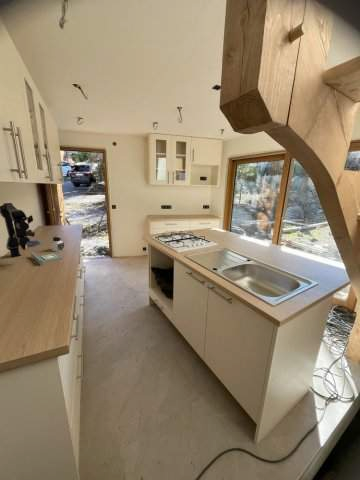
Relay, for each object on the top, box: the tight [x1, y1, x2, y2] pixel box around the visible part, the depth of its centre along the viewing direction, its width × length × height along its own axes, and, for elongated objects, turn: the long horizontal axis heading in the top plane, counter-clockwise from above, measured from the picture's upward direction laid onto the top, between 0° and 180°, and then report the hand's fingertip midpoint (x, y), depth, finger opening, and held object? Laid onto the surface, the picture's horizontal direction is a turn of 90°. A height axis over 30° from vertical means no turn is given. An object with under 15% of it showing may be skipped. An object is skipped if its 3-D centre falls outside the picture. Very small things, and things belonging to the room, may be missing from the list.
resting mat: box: [37, 252, 63, 264], centre depth 166 cm, size 16×14×1 cm
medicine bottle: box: [50, 236, 65, 252], centre depth 184 cm, size 7×7×12 cm
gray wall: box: [30, 251, 44, 266], centre depth 158 cm, size 24×2×4 cm, turn 48°
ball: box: [19, 244, 28, 251], centre depth 151 cm, size 5×5×5 cm
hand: (23, 248), depth 151 cm, fingers closed on ball, 5 cm apart
